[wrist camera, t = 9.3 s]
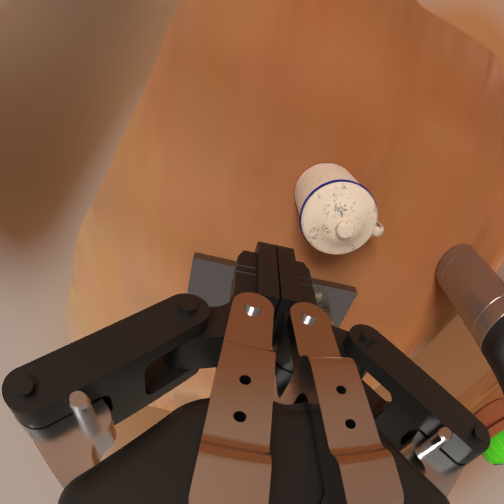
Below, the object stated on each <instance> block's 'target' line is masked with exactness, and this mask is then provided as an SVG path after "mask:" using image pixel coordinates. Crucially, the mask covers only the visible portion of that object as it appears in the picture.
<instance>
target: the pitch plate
mask: <svg viewBox="0 0 504 504" xmlns="http://www.w3.org/2000/svg"><path fill="white" fill-rule="evenodd" d="M236 263H237V262H236V261H232V260H227V259H223V258H218V257H214V256H209V255H205V254H201V253H196V252H195V254H194V257H193V263H192V269H191V275H190V281H189V287H188V293H187V294H193V295H196V296H198V297H200V298H202V299H203V300H205V301H206V302H207V304H208V305H209V307H216V306H222V305H225V304H227V303H228V302H229V299H230V291H231V284H232V280H233V276H234V272H235V267H236ZM311 280H312V284H313V285H312V286H313V289H314V293H315V298H316V302H317V306H318V307H320V308H321V309H322V310H323V311H324V312H325V313H326V314H327V316H328V319H329V322H330V324H331V325H333V326H335V327H337V328H338V327H339V325H340V323H341V321H342V320H343V318H344V316H345V314H346V312H347V311H348V309H349V307H350V305H351V303H352V301H353V299H354V298H355V296H356V294H357V291H356V289H355V287H352V286H347V285H342V284H338V283H333V282H328V281H324V280H319V279H314V278H311Z"/></svg>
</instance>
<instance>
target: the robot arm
mask: <svg viewBox="0 0 504 504" xmlns="http://www.w3.org/2000/svg"><path fill="white" fill-rule="evenodd" d="M436 279H437V282H438V284H439V285H440V286H441V288H442V289H443V291H444V292H445V294H446V295H447V297H448V298H449V300H450V301H451V303H452V304H453V306H454V307H455V309H456V310H457V312H458V314H459V315H460V316H461V318H462V320H463V321H464V323H465V325H466V326H467V328H468V330H469V331H470V333H471V334H472V336H473V338H474V339H475V341H476V343H477V344H478V346H479V348H480V350H481V351H482V353H483V355H484V356H485V358H486V360H487V362H488V363H489V365H490V367H491V368H492V370H493V372H494V374H495V376H496V378H497V380H498V382H499V384H500V387H501V389H502V391H503V394H504V282H503V281H502V279H501V278H500V277H499V276H498V275H497V274H496V273H495V272H494V270H493V269H492V268H491V267H490V266H489V265H488V264H487V263H486V262H485V261H484V259H483V258H482V257H481V256H480V255H479V254H478V253H477V252H476V251H475V250H474V249H473V248H472V247H471V246H469V245H464V244H463V245H458V246H456V247H454V248H452V249H450V250H449V251H448V252H447V253H446V254H445V255H444V256H443V257H442V259H441V261H440V262H439V264H438V267H437V270H436ZM312 285H313V284H312V280H311V275H310V271H309V269H308V268H307V267H306V266H305V264H304V263H303V262H298V261H296V259H295V254H294V249H292V248H287V247H283V246H278V245H273V244H268V243H263V242H259V241H258V243H257V246H256V250H255V253H254V252H249V251H243V252H242V253H241V254H240V255H239V256H238V259H237V263H236V267H235V272H234V276H233V280H232V284H231V291H230V299H229V302H228V303H227V304H225V305H222V306H216V307H209V305H208V304H207V302H206V301H205V300H203V299H202V298H200V297H198V296H196V295H193V294H177V295H174V296H172V297H170V298H168V299H166V300H163V301H161V302H159V303H157V304H155V305H153V306H151V307H148V308H146V309H144V310H142V311H140V312H138V313H136V314H133V315H131V316H129V317H127V318H125V319H123V320H120V321H118V322H116V323H114V324H112V325H110V326H108V327H105V328H103V329H101V330H99V331H97V332H95V333H92V334H90V335H88V336H86V337H84V338H82V339H79V340H77V341H75V342H73V343H71V344H69V345H66V346H64V347H62V348H60V349H58V350H56V351H53V352H51V353H49V354H47V355H45V356H42V357H40V358H38V359H36V360H34V361H32V362H30V363H27V364H25V365H23V366H21V367H18V368H16V369H14V370H13V371H11V372H10V373H9V374H8V375H7V376H6V378H5V380H4V382H3V385H2V395H3V398H4V400H5V402H6V403H7V405H8V407H9V408H10V409H11V410H12V412H13V413H14V416H15V418H16V419H17V421H18V422H19V423H20V425H21V426H22V427H23V428H24V429H25V431H26V432H27V433H28V435H29V436H30V437H31V438H32V439H33V440H34V442H35V444H36V446H37V448H38V449H39V451H40V453H41V454H42V456H43V458H44V459H45V461H46V462H47V464H48V465H49V467H50V469H51V470H52V472H53V473H54V475H55V476H56V478H57V479H58V481H59V482H60V484H61V485H62V487H63V488H64V490H63V492H62V493H61V496H60V498H59V501H58V504H450V503H449V501H448V499H447V498H446V497H447V496H448V494H449V492H450V491H451V489H452V487H453V486H454V484H455V482H456V481H457V479H458V477H459V475H460V474H461V472H462V470H463V468H464V466H465V465H467V464H468V463H470V462H471V461H473V460H474V459H475V458H477V457H478V456H480V455H481V454H482V453H484V452H485V451H486V450H487V449H488V448H489V446H490V434H489V431H488V429H487V428H486V426H485V425H484V424H483V423H482V422H481V421H480V420H479V419H478V418H476V417H475V416H474V415H473V414H472V413H471V412H470V411H469V410H468V409H466V408H465V407H464V406H463V405H462V404H461V403H460V402H459V401H457V400H456V399H455V398H454V397H453V396H452V395H451V394H449V393H448V392H447V391H446V390H445V389H444V388H443V387H442V386H440V385H439V384H438V383H437V382H436V381H435V380H434V379H432V378H431V377H430V376H429V375H428V374H427V373H426V372H424V371H423V370H422V369H421V368H420V367H419V366H417V365H416V364H415V363H414V362H413V361H412V360H411V359H409V358H408V357H407V356H406V355H405V354H404V353H402V352H401V351H400V350H399V349H398V348H397V347H395V346H394V345H393V344H392V343H391V342H390V341H388V340H387V339H386V338H385V337H384V336H383V335H381V334H380V333H379V332H378V331H377V330H375V329H374V328H372V327H370V326H367V325H362V324H358V325H355V326H353V327H352V328H351V329H350V331H349V332H348V331H345V330H342V329H340V328H337V327H335V326H333V325H331V324H330V322H329V319H328V316H327V314H326V313H325V312H324V311H323V310H322V309H321V308H320V307H318V306H317V302H316V298H315V293H314V289H313V286H312ZM272 347H273V351H272V350H271V348H272ZM212 367H217V368H216V373H215V377H214V381H213V386H212V390H211V394H210V398H206V399H199V400H196V401H192V402H190V403H187V404H185V405H183V406H181V407H179V408H177V409H176V410H174V411H173V412H172V413H170V414H169V415H168V416H167V417H165V418H163V419H162V420H161V421H159V422H158V423H157V424H155V425H154V426H152V427H151V428H150V429H148V430H147V431H145V432H144V433H143V434H141V435H140V436H138V437H137V438H135V439H134V440H132V441H131V442H130V443H128V444H127V445H125V446H124V447H122V448H121V449H119V450H118V451H116V452H115V453H113V454H112V455H110V456H109V457H107V458H106V459H104V460H103V461H101V462H100V460H101V457H102V455H103V454H104V453H105V452H106V451H107V450H108V449H109V448H110V447H111V446H112V445H113V444H114V442H115V439H116V429H115V426H114V425H116V424H117V423H119V422H121V421H123V420H124V419H126V418H128V417H129V416H131V415H132V414H134V413H136V412H137V411H139V410H140V409H142V408H144V407H145V406H147V405H149V404H150V403H152V402H153V401H155V400H156V399H158V398H160V397H161V396H163V395H164V394H166V393H167V392H169V391H170V390H172V389H174V388H175V387H177V386H178V385H180V384H181V383H183V382H184V381H186V380H187V379H189V378H190V377H192V376H193V375H195V374H196V373H197V372H198V370H199V369H200V368H212ZM367 372H368V373H369V374H370V375H371V376H373V377H374V378H375V379H376V380H377V381H378V382H379V383H380V384H381V385H382V386H384V387H385V388H386V389H387V390H388V391H389V392H390V394H391V396H392V401H391V402H387V401H385V400H384V399H382V398H381V397H380V396H379V395H378V394H377V393H376V392H375V391H374V390H373V389H372V388H371V387H370V386H368V385H367V384H366V383H365V382H364V381H363V380H362V378H363V377H364V376H365V374H366V373H367Z"/></svg>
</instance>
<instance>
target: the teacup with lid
mask: <svg viewBox="0 0 504 504" xmlns="http://www.w3.org/2000/svg"><path fill="white" fill-rule="evenodd" d="M295 202H296V205H297V209H298V213H299V216H300V228H301V231H302V234H303V236H304V237H305V239H306V240H307V242H308V243H309V244H310V245H312V246H313V247H314V248H316V249H317V250H319V251H321V252H324V253H327V254H335V255H337V254H345V253H349V252H352V251H354V250H356V249H358V248H359V247H361V246H362V245H363V244H365V243H366V242H367V240H368V239H369V238H370V237H371V235H373V236H381V235H382V234H383V232H384V228H383V226H382V225H381V224H380V223H379V222H378V221H377V206H376V202H375V200H374V198H373V196H372V195H371V193H370V192H369V191H368V190H367V189H366V188H365V187H364V186H362V185H361V184H359V183H358V182H357V181H356V180H355V178H354V177H353V176H352V175H351V174H350V173H349V172H348V171H347V170H346V169H344V168H343V167H341V166H339V165H336V164H332V163H322V164H317V165H315V166H312V167H310V168H309V169H307V170H306V171H305V172H304V173H303V174H302V175H301V176H300V178H299V180H298V181H297V184H296V187H295Z"/></svg>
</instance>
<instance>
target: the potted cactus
mask: <svg viewBox="0 0 504 504" xmlns="http://www.w3.org/2000/svg"><path fill="white" fill-rule="evenodd" d="M474 416H475V417H476V418H478V419H479V420H480V421H481V422H482V423H483V424H484V425H485V426H486V428H487V429H488V431H489V434H490V446H489V448H488V449H487V450H486V451H485V452H484V453H482V456H483V457H484V459H486V461H488V462H489V463H492V464H494V465H500V464H501V463H504V399H498V400H495V401H493V402H492V403H490V404H488V405H486V406H485V407H483V408H482V409H481V410H479V411H478V412H477V413H476V414H474ZM501 465H502V464H501Z"/></svg>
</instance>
